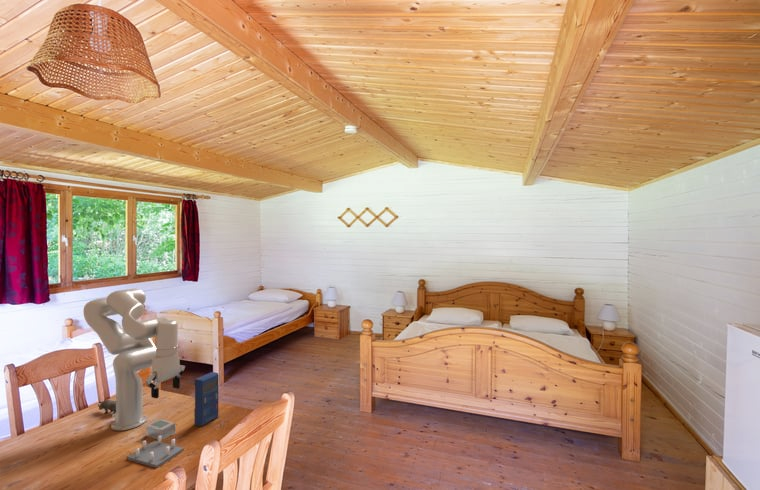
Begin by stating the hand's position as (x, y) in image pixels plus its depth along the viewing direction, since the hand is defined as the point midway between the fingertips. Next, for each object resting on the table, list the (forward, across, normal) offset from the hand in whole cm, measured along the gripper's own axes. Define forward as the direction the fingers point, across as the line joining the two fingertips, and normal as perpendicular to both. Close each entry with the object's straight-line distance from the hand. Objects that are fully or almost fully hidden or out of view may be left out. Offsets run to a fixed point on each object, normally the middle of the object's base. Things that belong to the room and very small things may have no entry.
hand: (165, 392), depth 144 cm
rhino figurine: (+19, -6, -42) cm, 46 cm away
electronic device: (+18, -15, +7) cm, 24 cm away
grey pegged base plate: (+17, +11, +9) cm, 23 cm away
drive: (+18, 0, -2) cm, 18 cm away
